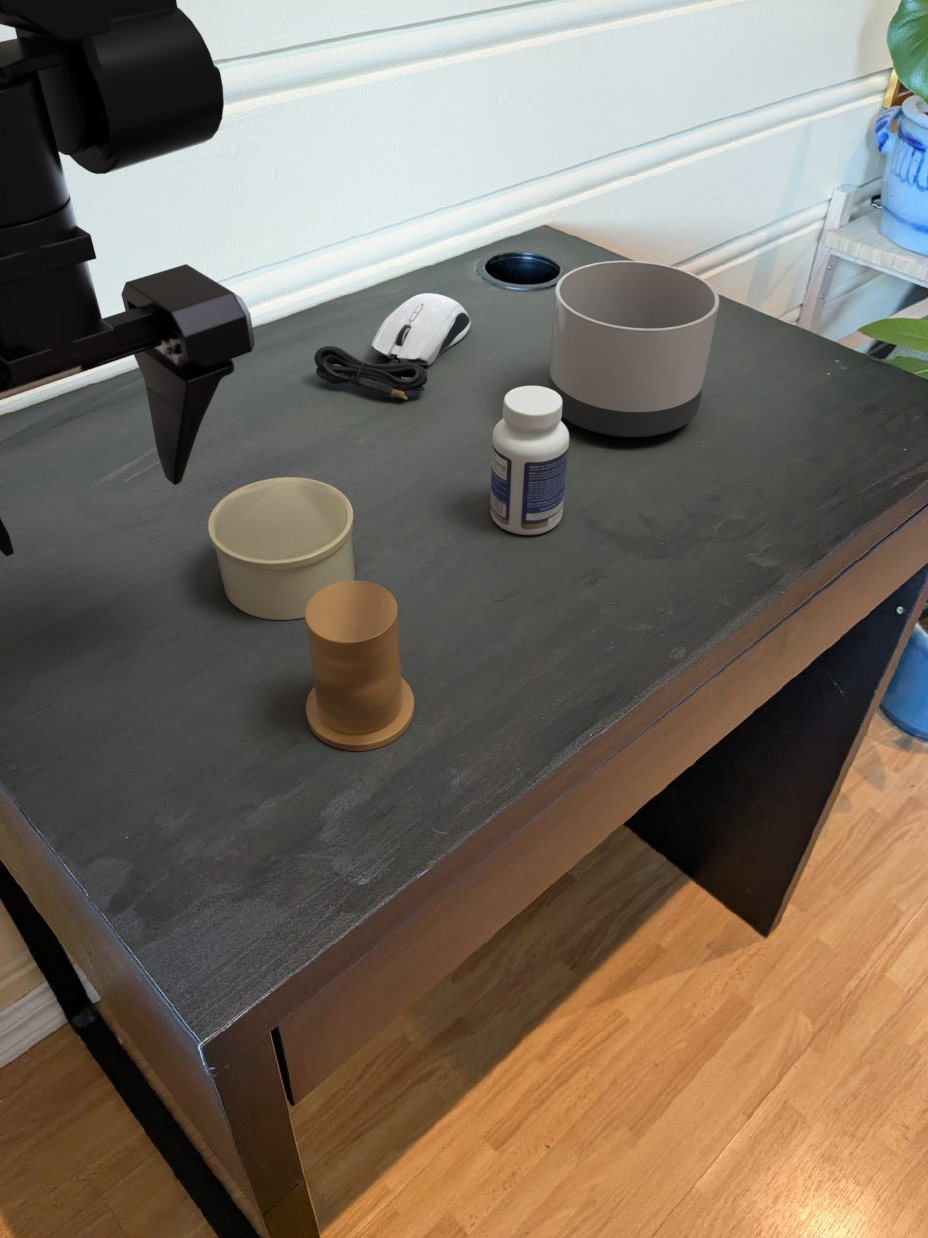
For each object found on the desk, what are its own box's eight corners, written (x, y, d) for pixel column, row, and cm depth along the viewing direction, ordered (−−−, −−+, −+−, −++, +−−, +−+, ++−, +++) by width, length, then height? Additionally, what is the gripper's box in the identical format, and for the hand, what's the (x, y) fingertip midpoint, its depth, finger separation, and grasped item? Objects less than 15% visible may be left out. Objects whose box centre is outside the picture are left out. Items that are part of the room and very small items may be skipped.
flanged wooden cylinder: (305, 755, 55) (288, 655, 49) (308, 674, 59) (293, 575, 54) (417, 747, 55) (413, 648, 50) (411, 668, 60) (407, 569, 54)
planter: (518, 419, 82) (524, 301, 74) (591, 360, 89) (603, 248, 82) (655, 468, 76) (676, 346, 69) (720, 400, 84) (745, 284, 77)
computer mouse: (494, 324, 95) (496, 284, 92) (413, 411, 82) (412, 368, 80) (404, 305, 98) (402, 266, 95) (312, 386, 85) (308, 345, 83)
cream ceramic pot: (229, 634, 62) (216, 575, 58) (213, 547, 68) (200, 489, 65) (371, 607, 64) (367, 548, 61) (343, 525, 71) (337, 467, 67)
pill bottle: (570, 502, 73) (581, 387, 66) (551, 544, 69) (561, 426, 62) (502, 488, 74) (506, 374, 67) (480, 528, 70) (483, 411, 64)
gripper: (115, 115, 48) (176, 394, 59) (-312, 203, 39) (-148, 515, 49) (235, 172, 42) (279, 472, 53) (-237, 292, 33) (-69, 626, 43)
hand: (93, 514), depth 50 cm, fingers open, 9 cm apart
